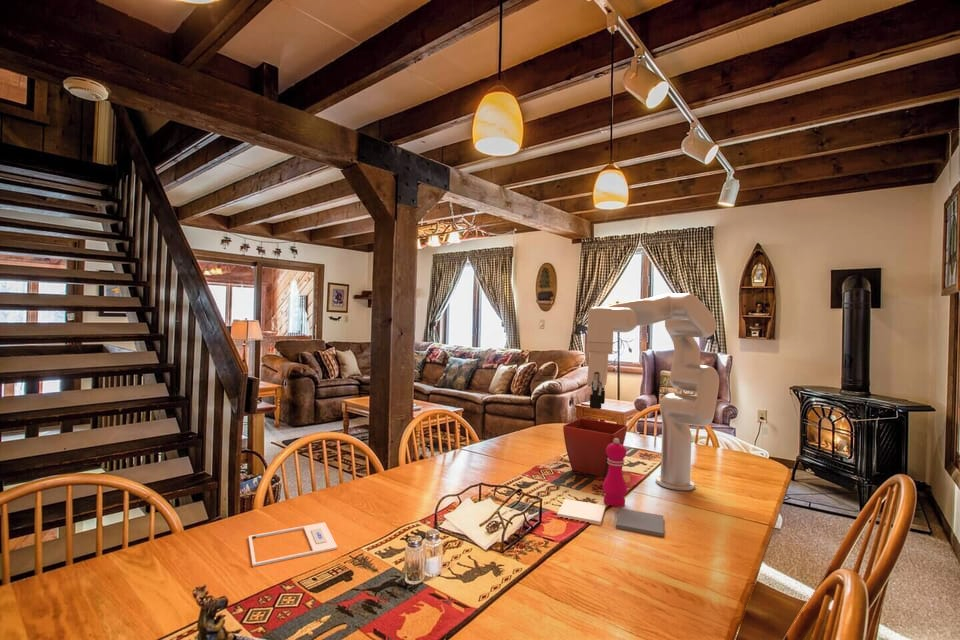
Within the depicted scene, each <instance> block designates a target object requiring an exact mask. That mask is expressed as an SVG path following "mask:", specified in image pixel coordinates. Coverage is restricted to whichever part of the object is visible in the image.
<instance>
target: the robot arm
mask: <svg viewBox="0 0 960 640" xmlns="http://www.w3.org/2000/svg"><path fill="white" fill-rule="evenodd" d="M663 321H664V327H665V330H666V332H667V333H668V335H669V337H670V339H671V342H672V343H673V349H674V350H673V356H672V357H673V358H672V363H671V368H670V375H669V383H670V385H671V387H672V388H674V389H676V390H681V391H685V392H692V393H696V396H694V395H690V394H683V393H679V392H678V393H677V392H669V393H666V394H665V395H663V396H662V398H660V403H659V410H660V415H661V416H660V417H661V428H662V429H661V451H660V453H661V457H660V458H661V459H660V475H658V476H656V477H655V483H656V484H657V485H659V486H661V487H663V488H666V489H670V490H676V491H692V490H694V489H695V488H696V483H695V482H694V481H692V480H691V469H692V468H691V467H692V466H691V464H692V463H691V462H692V461H691V460H692V442H693V441H692V439H693V438H692V437H693V436H692V432H691V429H690V426H689V425H691V426H698V427H708V426H710V424H711V423H712V422H713V420H714V418H715V417H714V416H715V412H716V408H717V401H718V396H719V390H720V389H719V388H720V376H719V373H718V371H717V370H716V368H714V367H713V366H710V365H705V364H700V361H701V360H700V359H701V349H700V345H699V344H698V342H697V340H696V339H695V338H701V339H702V338H705V339H706V338H709V337H711V336H713V335H714V334H715V332H716V329H717V321H716V318H715V316H714V314H713V313H712V312H711V311H710V309H708V308H707V306H706V305H705V304H704V302H702V301H701V299H699V298H698V297H697V296H695V295H694V294H693V293H687V292H685V293H683V292H682V293H664V294H663V293H662V294H659V295H655V296H652V297H647V298H643V299H636V300H632V301H626V302H620V303H614V304H610V305H605V306H593V307H590V308H589V309H588V312H587V334H586V354H589V357H588V366H587V367H588V368H587V377H586V378H587V379H586V386H587V387H591V388H590V395H589V408H590V409H595V410H601V409H602V405H603V404H604V405H605V397H606V389H605V386H607V381H608V369H609V368H608V367H609V355H613V352H614V351H613V349H614V348H613V346H614V333H629V332H631V331H633V330H634V329H636V327H637V326H650V325H654V324H656V323H657V324H658V323H660V322H663Z"/></svg>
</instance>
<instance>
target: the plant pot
mask: <svg viewBox="0 0 960 640" xmlns="http://www.w3.org/2000/svg"><path fill="white" fill-rule="evenodd" d="M562 430H563V431H562V432H563V437H564V444H565V448H566V449H565V450H566V452H567V453H566V454H567V457H568V461H569V464H570V467H571V470H572V471H574V472H579V473H583V474H586V475H587V474H588V475H591V476H597V477H599V478H600V477H601V478H606V477H607V475H608V471H609V464H608V463H607V461H608V460H607V459H608V458H609V457H608V456H607V454H606V448H607V446H608V445H609V444H611V443H614V439H615V438H618V439H619V444H622V445H623V446H624V443H625V440H626V435H627V430H628V425H625V424H620V423H615V422H614V423H613V422H608V421H603V420H595V419H588V418H582V417H581V418H578V419H575V420H572V421H570V422H568V423H566V424H564V425H562Z"/></svg>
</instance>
